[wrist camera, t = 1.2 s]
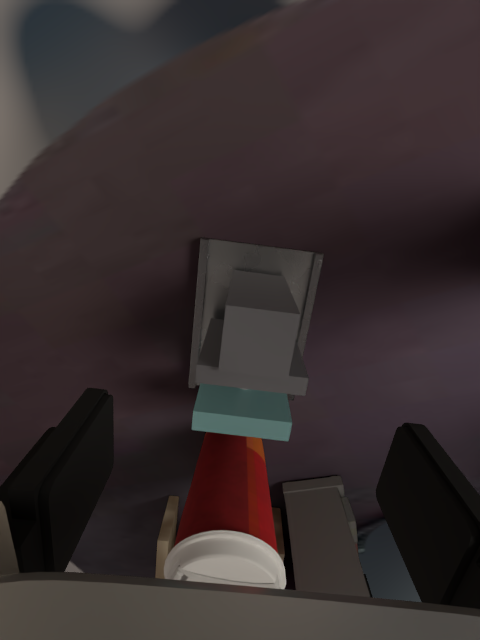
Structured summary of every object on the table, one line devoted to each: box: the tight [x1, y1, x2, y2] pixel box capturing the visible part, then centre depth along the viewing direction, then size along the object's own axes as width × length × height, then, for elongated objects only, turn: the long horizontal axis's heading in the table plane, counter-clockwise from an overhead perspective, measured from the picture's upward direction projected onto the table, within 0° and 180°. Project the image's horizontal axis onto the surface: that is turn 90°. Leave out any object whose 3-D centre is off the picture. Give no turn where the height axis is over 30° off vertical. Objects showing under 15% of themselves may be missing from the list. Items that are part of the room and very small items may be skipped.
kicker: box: [192, 270, 309, 441], centre depth 24 cm, size 7×11×9 cm, turn 173°
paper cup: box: [164, 432, 286, 589], centre depth 27 cm, size 8×8×14 cm
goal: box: [155, 496, 285, 579], centre depth 35 cm, size 12×8×6 cm
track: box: [189, 237, 324, 400], centre depth 29 cm, size 10×13×1 cm
